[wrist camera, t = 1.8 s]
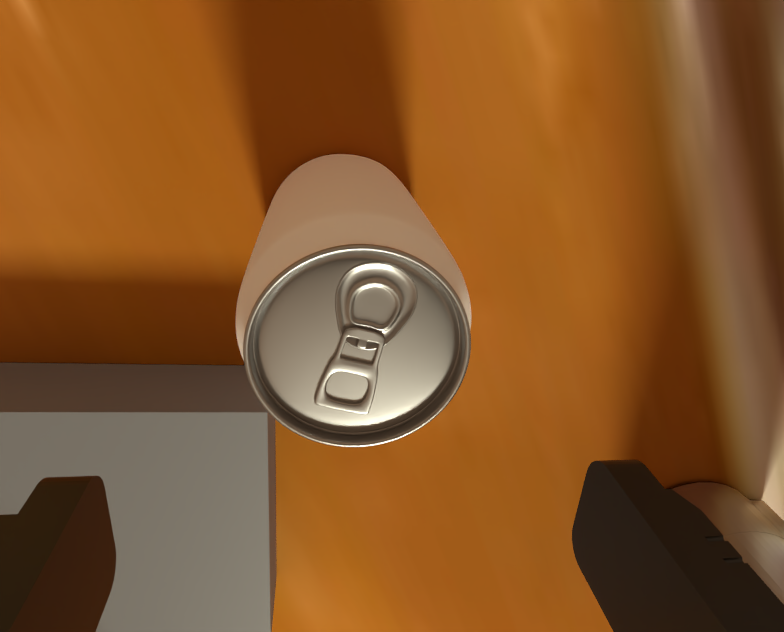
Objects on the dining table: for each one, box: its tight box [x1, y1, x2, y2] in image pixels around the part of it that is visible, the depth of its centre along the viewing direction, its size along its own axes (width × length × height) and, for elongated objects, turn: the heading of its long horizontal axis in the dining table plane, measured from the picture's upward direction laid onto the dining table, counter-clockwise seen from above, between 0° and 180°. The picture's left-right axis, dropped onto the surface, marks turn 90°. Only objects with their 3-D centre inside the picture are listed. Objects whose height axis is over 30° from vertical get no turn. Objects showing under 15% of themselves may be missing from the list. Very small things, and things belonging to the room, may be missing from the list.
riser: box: [0, 363, 276, 632], centre depth 27 cm, size 14×14×4 cm
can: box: [236, 154, 471, 447], centre depth 19 cm, size 6×6×12 cm
